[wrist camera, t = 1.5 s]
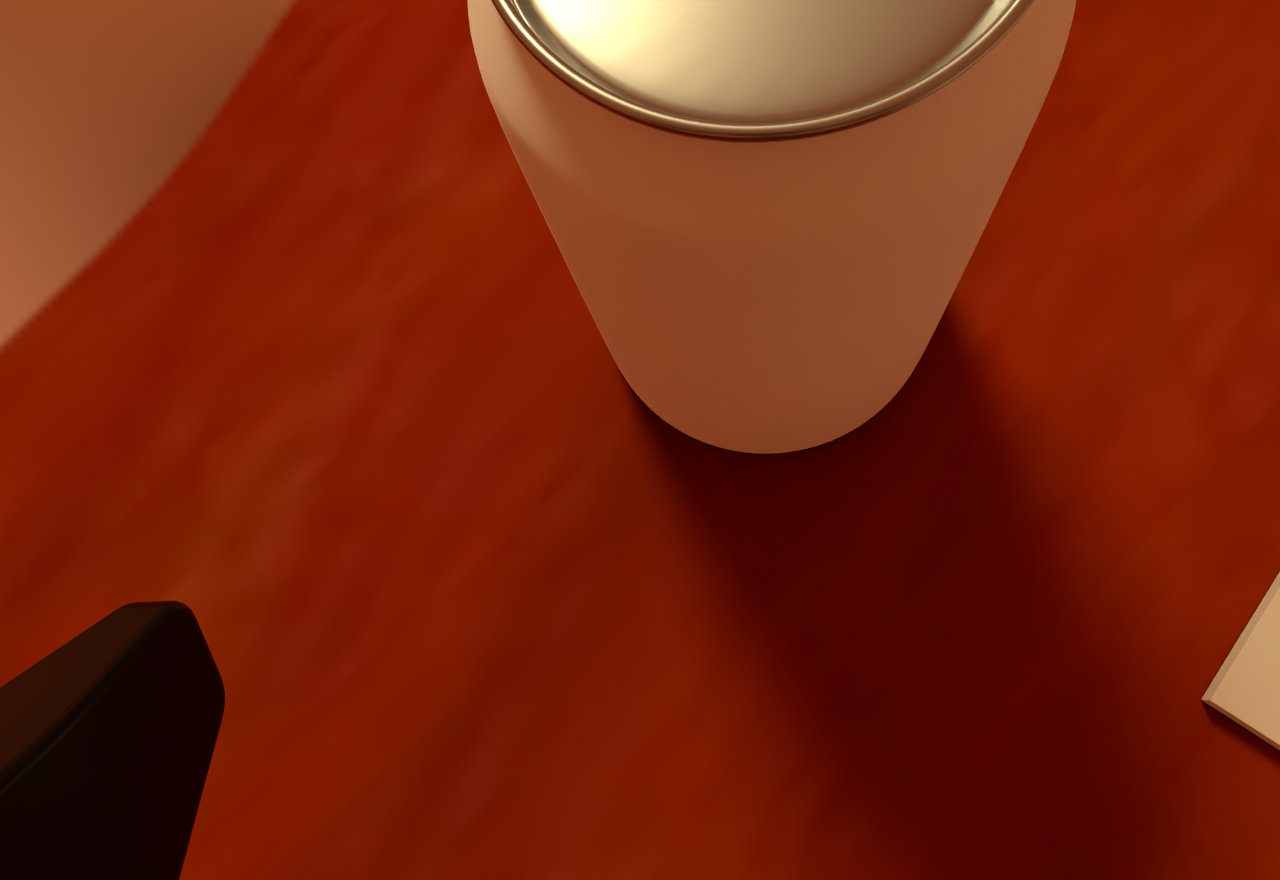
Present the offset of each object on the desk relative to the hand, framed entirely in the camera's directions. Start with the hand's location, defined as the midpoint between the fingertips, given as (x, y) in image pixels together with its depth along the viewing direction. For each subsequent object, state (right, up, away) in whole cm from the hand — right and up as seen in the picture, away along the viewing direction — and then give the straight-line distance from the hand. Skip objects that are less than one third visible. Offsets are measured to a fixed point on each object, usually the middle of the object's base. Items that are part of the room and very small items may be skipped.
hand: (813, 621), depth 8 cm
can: (+1, +4, +14) cm, 15 cm away
